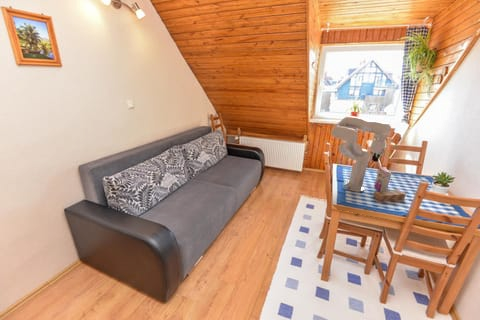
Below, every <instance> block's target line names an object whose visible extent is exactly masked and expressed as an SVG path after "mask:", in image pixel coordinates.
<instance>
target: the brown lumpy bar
mask: <svg viewBox="0 0 480 320" xmlns="http://www.w3.org/2000/svg"><path fill="white" fill-rule="evenodd" d="M373 193H374V194H373V197H372V198H373V199H375V200H376V201H378V202H379V203H382V202H384V201H385V202H393V201H394V202H395V201H405V198H406V193H405V192H403V191H401V190H400V189H394V190H387V191H375V192H373ZM385 202H384V203H385Z"/></svg>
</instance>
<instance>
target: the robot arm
mask: <svg viewBox="0 0 480 320" xmlns="http://www.w3.org/2000/svg"><path fill="white" fill-rule="evenodd" d="M358 131H359V132H365V133H370V134H372V133H373V134H374V139H372V142H371V144H370V148H369V150H367V149H365V148H363V147H362V146H361V145H360V144H359V143H357V141H358V138H359V133H358ZM391 131H392V126H391V125H390V123H389V122H386V121H385V122H384V121H376V120H371V119H369V118H368V119H367V118H363V117H358V116H352V115H347V116H346V117H343V118H342V119H341V120H340V121H339V122H338V123H336V125H334V126H333V128H332V129H331V136H333V138H335V139H340V140H343V141H342V142H340V144H339V145H338V152H339V153H340V154H341V155H342V156H344V157H346V158H347V159H350V160H352V161H355V162H354V163H353V164H352V165H351V170H350V175H349V179H348V181H347V182H346V183H342V186H343V187H345V188H346V189H347V190H349V191H352V192H356V193H360V192H364V191H365V188H364V187H363V184H364V180H365V176H366V171H367V167H368V165H369V162H370V160H371V161H373V162H374V163H377V162H379V158H380V157H382V156H384V154H385V151H386V145H387V144H386V143H387V142H386V140H387V136H388V135H389V134H390V133H391ZM371 153H372V154H371ZM371 157H372V158H371Z"/></svg>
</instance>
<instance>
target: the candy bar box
mask: <svg viewBox="0 0 480 320" xmlns="http://www.w3.org/2000/svg"><path fill="white" fill-rule="evenodd" d="M391 176H392V172H391V171H390V170H389V169H387V167H384V166H382V167H381V166H378V169H377V174H376V178H375V182H374V187H375V188H376V190H377V192H379V191H388V187H389V183H390V180H391Z"/></svg>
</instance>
